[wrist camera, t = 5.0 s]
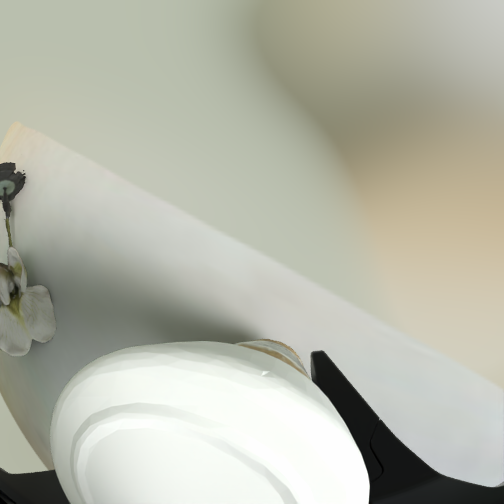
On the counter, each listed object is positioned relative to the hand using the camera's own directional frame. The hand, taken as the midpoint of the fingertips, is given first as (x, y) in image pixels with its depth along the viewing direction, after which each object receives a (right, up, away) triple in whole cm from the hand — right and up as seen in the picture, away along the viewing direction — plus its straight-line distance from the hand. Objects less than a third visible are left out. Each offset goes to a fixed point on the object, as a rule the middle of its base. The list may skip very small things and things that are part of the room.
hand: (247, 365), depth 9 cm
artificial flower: (-24, +4, +14) cm, 28 cm away
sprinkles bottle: (+1, -3, +6) cm, 7 cm away
